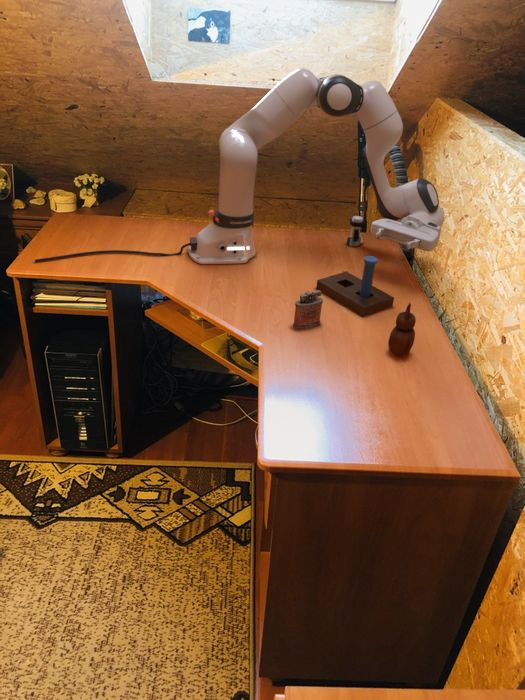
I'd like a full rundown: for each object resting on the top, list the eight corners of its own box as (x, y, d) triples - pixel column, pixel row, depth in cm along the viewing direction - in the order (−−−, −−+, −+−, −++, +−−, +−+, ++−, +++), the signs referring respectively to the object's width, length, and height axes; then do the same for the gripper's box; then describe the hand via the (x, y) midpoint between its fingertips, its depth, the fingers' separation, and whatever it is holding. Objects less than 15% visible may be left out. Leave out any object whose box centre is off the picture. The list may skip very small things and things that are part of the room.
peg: (360, 307, 165) (368, 262, 158) (354, 301, 168) (361, 256, 161) (372, 305, 167) (380, 260, 159) (365, 299, 170) (373, 255, 162)
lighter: (296, 331, 152) (300, 297, 146) (290, 325, 154) (293, 292, 149) (322, 325, 155) (326, 292, 150) (315, 319, 158) (319, 287, 152)
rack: (362, 317, 160) (364, 307, 159) (316, 288, 174) (317, 279, 172) (392, 306, 167) (394, 297, 165) (345, 280, 180) (346, 271, 178)
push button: (357, 240, 208) (361, 213, 203) (367, 245, 204) (371, 218, 199) (343, 243, 205) (346, 216, 199) (352, 248, 201) (356, 221, 196)
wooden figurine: (404, 362, 142) (417, 309, 134) (383, 355, 144) (393, 302, 136) (414, 350, 147) (426, 298, 139) (392, 343, 149) (403, 292, 141)
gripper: (385, 210, 180) (362, 221, 170) (446, 228, 170) (426, 241, 160) (381, 229, 183) (359, 241, 174) (441, 248, 173) (421, 261, 164)
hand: (391, 241), depth 167 cm, fingers open, 8 cm apart
